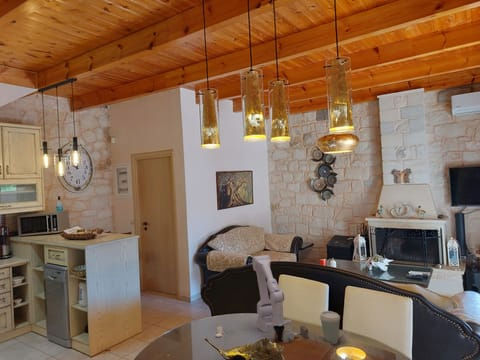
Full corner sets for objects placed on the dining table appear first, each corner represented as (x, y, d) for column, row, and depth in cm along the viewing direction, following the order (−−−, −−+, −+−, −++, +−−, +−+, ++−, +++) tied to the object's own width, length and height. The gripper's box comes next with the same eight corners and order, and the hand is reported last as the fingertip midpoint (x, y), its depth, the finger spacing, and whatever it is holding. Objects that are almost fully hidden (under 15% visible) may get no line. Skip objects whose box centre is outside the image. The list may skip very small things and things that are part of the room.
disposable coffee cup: (344, 339, 182) (342, 311, 183) (338, 348, 173) (337, 318, 174) (324, 336, 188) (323, 309, 188) (318, 344, 178) (316, 315, 179)
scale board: (279, 348, 176) (278, 336, 176) (271, 339, 187) (271, 328, 188) (311, 343, 180) (310, 331, 180) (301, 334, 192) (301, 323, 192)
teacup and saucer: (219, 339, 192) (219, 332, 192) (209, 336, 197) (209, 329, 197) (229, 333, 199) (229, 326, 199) (219, 330, 204) (219, 324, 204)
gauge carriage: (285, 343, 178) (285, 336, 178) (280, 338, 185) (280, 331, 185) (301, 341, 180) (300, 333, 180) (296, 335, 187) (295, 328, 187)
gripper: (267, 318, 177) (268, 344, 177) (293, 314, 180) (294, 340, 180) (263, 313, 184) (264, 338, 183) (288, 310, 187) (289, 334, 187)
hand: (279, 339), depth 182 cm, fingers closed
